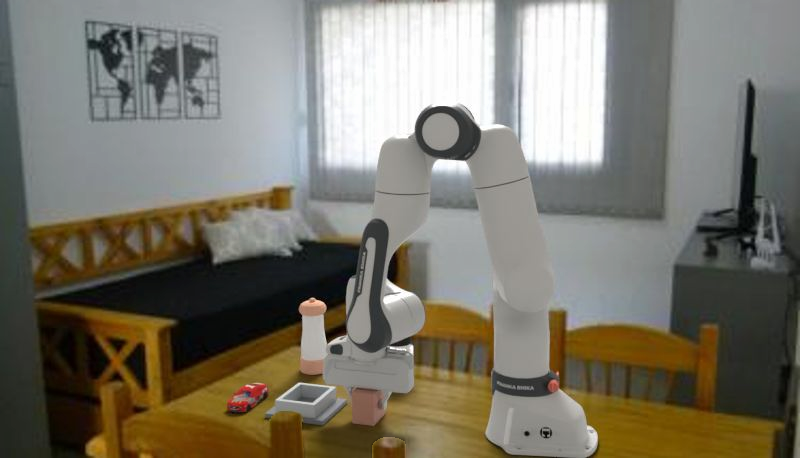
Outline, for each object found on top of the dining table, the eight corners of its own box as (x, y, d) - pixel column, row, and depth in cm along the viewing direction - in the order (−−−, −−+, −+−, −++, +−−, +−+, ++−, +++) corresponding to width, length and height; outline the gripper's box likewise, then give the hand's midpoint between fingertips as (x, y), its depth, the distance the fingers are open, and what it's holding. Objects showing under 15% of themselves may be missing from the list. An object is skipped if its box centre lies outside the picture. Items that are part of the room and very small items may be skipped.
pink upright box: (385, 413, 169) (384, 383, 168) (374, 426, 162) (373, 394, 161) (364, 411, 170) (363, 381, 169) (352, 423, 164) (351, 392, 163)
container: (413, 384, 186) (413, 333, 184) (382, 384, 187) (381, 333, 185) (413, 373, 194) (413, 324, 192) (383, 374, 194) (382, 324, 192)
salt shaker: (303, 365, 202) (301, 294, 199) (331, 365, 201) (329, 294, 198) (297, 374, 195) (295, 301, 192) (325, 375, 194) (323, 301, 191)
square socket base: (346, 403, 175) (346, 386, 174) (323, 425, 163) (322, 407, 162) (292, 396, 180) (291, 380, 179) (265, 417, 167) (264, 400, 167)
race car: (244, 416, 169) (243, 399, 168) (222, 414, 171) (221, 397, 170) (272, 395, 181) (272, 379, 181) (252, 393, 183) (252, 377, 182)
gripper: (418, 345, 163) (418, 407, 166) (330, 337, 170) (332, 396, 172) (408, 354, 158) (409, 418, 160) (318, 345, 164) (320, 406, 166)
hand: (368, 406), depth 166 cm, fingers closed on pink upright box, 5 cm apart
